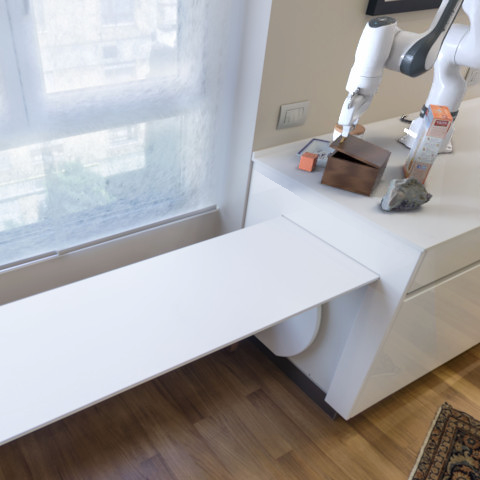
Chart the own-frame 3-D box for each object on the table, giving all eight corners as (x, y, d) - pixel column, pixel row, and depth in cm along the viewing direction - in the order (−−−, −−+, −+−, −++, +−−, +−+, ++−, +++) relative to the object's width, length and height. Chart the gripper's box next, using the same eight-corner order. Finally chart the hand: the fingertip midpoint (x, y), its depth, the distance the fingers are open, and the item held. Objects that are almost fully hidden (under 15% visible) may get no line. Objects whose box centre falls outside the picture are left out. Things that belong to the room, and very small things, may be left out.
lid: (328, 146, 136) (336, 130, 133) (342, 133, 145) (350, 118, 141) (379, 169, 132) (388, 153, 128) (390, 154, 140) (399, 139, 136)
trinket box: (360, 154, 162) (369, 128, 156) (330, 152, 164) (338, 126, 157) (356, 143, 170) (364, 118, 164) (328, 141, 171) (335, 116, 165)
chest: (320, 183, 144) (328, 156, 138) (334, 169, 153) (341, 143, 147) (369, 196, 138) (379, 169, 132) (380, 180, 146) (390, 154, 140)
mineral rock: (426, 206, 134) (441, 174, 127) (424, 222, 127) (439, 189, 120) (382, 196, 138) (394, 165, 131) (377, 211, 131) (390, 179, 124)
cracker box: (424, 185, 144) (454, 119, 130) (404, 182, 146) (432, 116, 131) (421, 168, 154) (449, 105, 140) (403, 166, 155) (428, 103, 141)
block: (303, 164, 155) (306, 151, 152) (315, 167, 153) (318, 154, 150) (298, 168, 153) (301, 155, 149) (310, 171, 151) (314, 159, 148)
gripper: (363, 94, 120) (348, 145, 130) (382, 78, 133) (367, 125, 142) (341, 90, 123) (327, 140, 132) (361, 75, 135) (348, 121, 145)
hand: (348, 132), depth 137 cm, fingers closed on lid, 5 cm apart
